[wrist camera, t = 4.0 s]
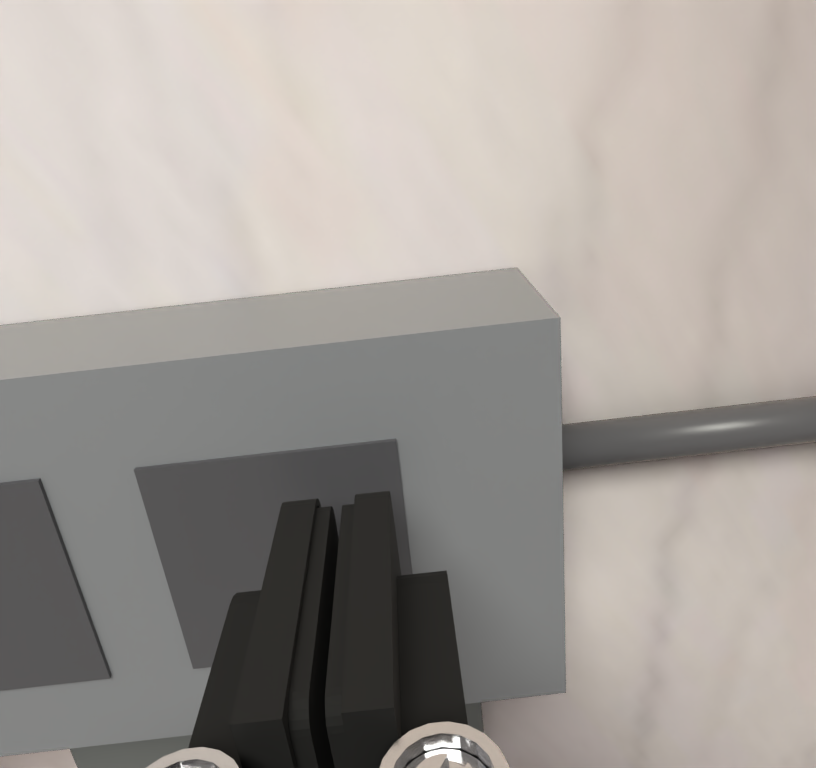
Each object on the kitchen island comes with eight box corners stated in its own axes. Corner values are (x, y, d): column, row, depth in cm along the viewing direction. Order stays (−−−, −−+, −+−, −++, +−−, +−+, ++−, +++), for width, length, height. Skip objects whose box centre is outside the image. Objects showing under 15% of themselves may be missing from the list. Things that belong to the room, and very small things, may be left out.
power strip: (1120, 199, 14) (1408, 237, 10) (1022, 524, 17) (1213, 649, 13) (-649, 397, 14) (-1048, 512, 10) (-421, 687, 17) (-659, 861, 13)
